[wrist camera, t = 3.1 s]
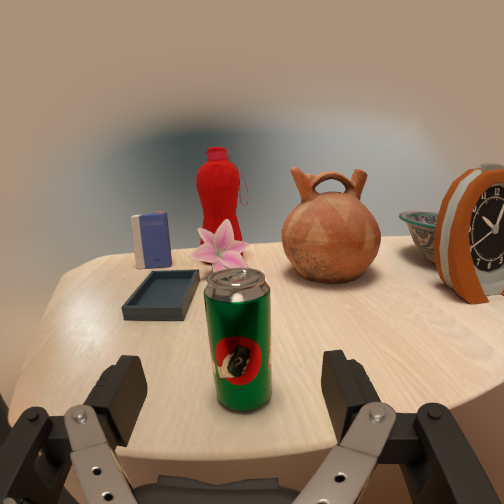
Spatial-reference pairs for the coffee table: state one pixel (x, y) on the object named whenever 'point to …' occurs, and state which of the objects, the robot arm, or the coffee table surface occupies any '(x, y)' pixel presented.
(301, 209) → the jug
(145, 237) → the walkman
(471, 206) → the alarm clock
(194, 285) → the tray
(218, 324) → the soda can
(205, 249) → the lily
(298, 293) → the coffee table surface
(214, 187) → the water bottle
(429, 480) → the robot arm
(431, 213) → the bowl
